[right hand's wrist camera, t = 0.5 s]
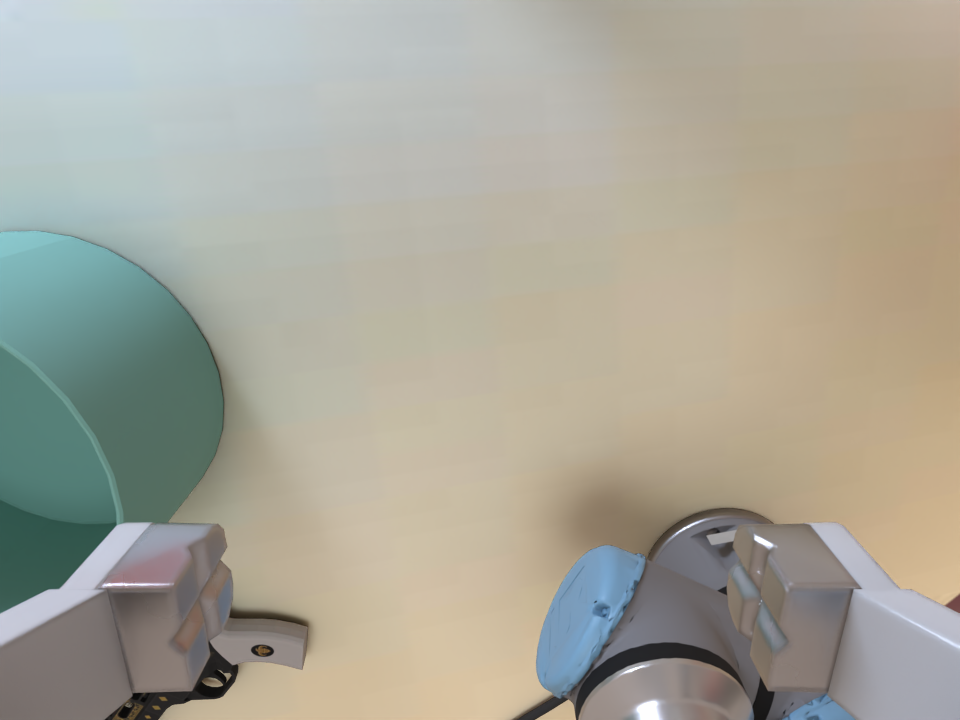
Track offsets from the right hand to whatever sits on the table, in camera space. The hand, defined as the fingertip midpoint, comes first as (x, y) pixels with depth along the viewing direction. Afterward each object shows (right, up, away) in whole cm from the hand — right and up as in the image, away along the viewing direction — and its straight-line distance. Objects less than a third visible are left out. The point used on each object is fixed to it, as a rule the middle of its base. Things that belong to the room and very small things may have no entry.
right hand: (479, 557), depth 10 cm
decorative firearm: (-31, -33, +63) cm, 78 cm away
